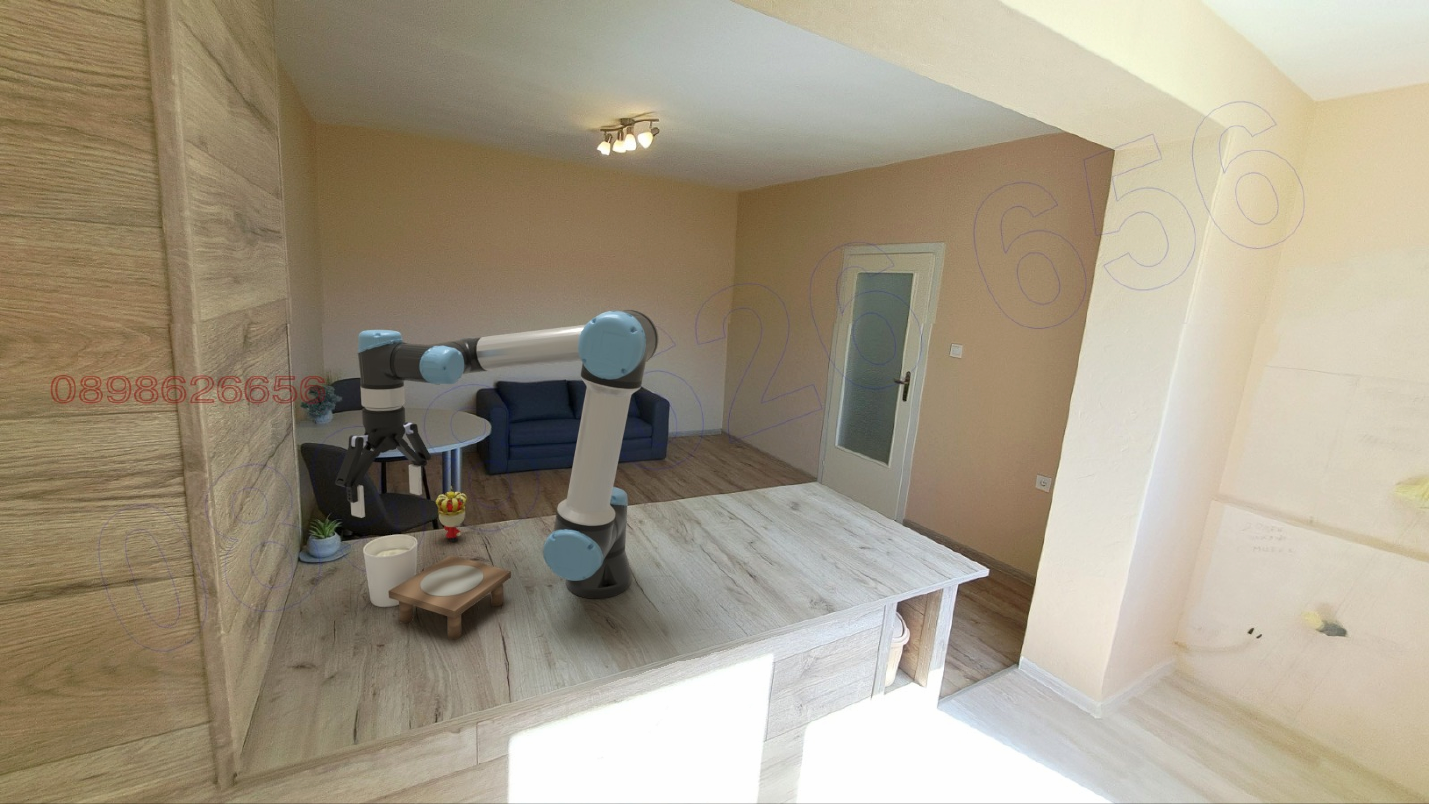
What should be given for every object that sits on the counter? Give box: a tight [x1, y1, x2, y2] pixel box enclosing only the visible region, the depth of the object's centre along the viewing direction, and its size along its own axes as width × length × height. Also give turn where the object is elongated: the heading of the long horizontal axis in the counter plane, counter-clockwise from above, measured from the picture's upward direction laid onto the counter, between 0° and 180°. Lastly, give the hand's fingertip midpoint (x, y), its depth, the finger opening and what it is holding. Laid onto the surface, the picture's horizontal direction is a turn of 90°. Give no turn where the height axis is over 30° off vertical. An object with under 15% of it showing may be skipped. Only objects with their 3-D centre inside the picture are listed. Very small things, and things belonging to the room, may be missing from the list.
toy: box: [435, 485, 468, 543], centre depth 140 cm, size 7×7×15 cm
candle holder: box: [362, 534, 418, 608], centre depth 114 cm, size 10×10×12 cm
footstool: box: [389, 554, 512, 640], centre depth 112 cm, size 16×16×7 cm
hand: (388, 504), depth 114 cm, fingers open, 13 cm apart
